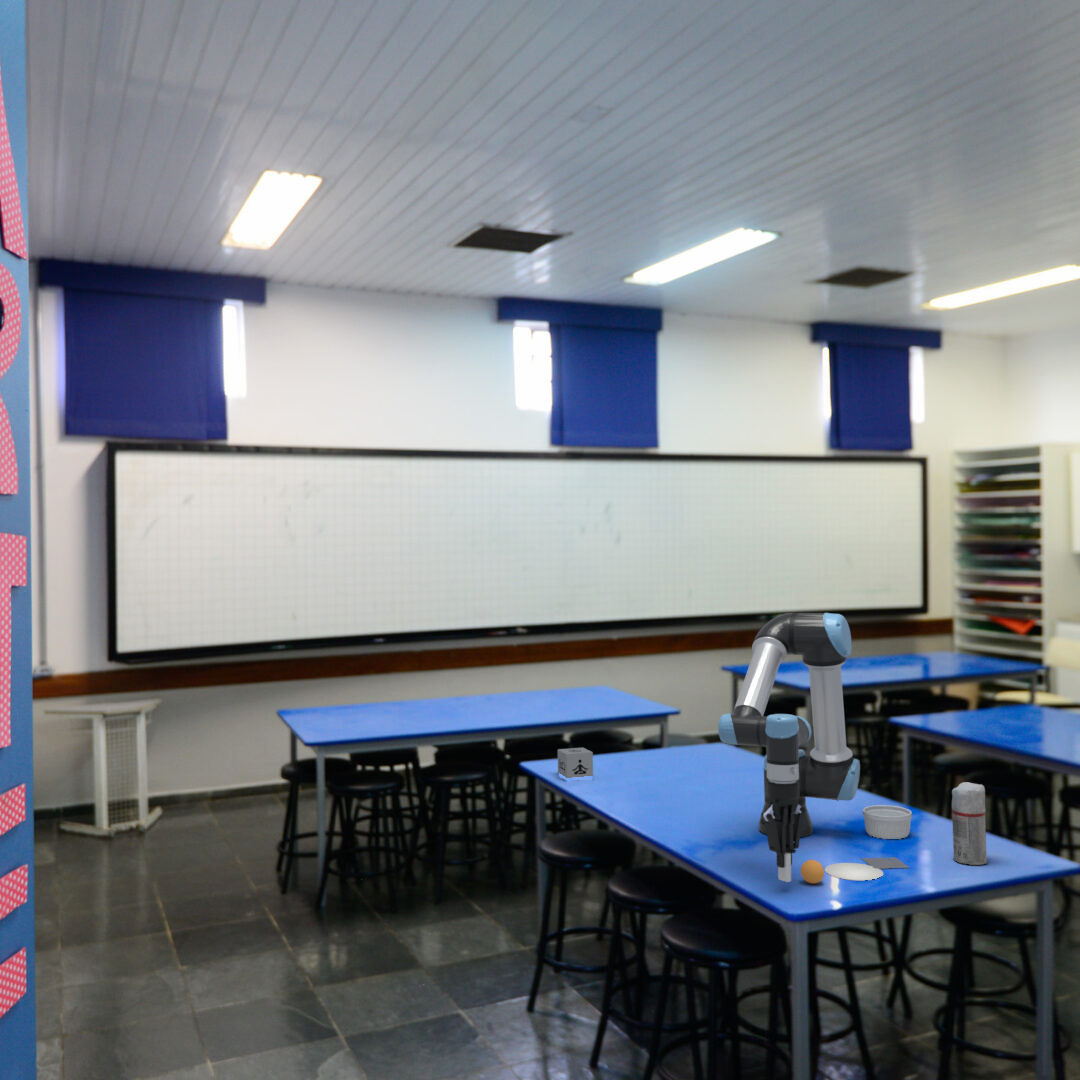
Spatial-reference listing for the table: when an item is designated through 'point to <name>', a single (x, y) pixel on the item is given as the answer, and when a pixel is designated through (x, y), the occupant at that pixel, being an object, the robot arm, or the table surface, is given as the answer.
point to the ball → (812, 871)
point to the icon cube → (575, 762)
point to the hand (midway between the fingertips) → (784, 880)
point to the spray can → (969, 824)
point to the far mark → (885, 863)
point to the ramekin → (887, 821)
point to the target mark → (853, 871)
